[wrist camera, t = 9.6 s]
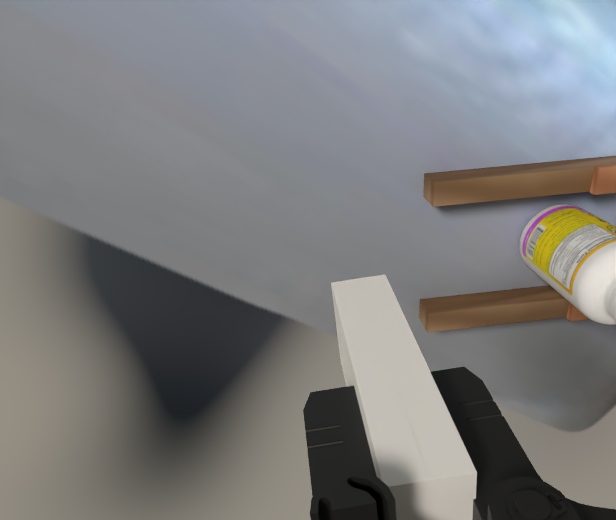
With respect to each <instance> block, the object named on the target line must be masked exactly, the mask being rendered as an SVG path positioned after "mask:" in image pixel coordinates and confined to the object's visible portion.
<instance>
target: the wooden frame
mask: <svg viewBox="0 0 616 520" xmlns="http://www.w3.org/2000/svg"><path fill="white" fill-rule="evenodd" d="M579 192H590V193H591V194H593V195H599V194H609V193H616V156H608V157H598V158H587V159H576V160H566V161H555V162H544V163H533V164H523V165H512V166H501V167H491V168H480V169H469V170H459V171H448V172H437V173H427V174H424V198H425V199H426V200H427V201H428V202H429V203H430V204H431V205H432V206H433V207H436V206H446V205H456V204H466V203H477V202H487V201H497V200H507V199H518V198H528V197H538V196H548V195H559V194H569V193H579ZM562 317H567V319H568V320H569V321H578V320H587V319H589V318H588V317H587V316H585V315H584V314H583V313H582V312H580V311H579V310H578V309H577V308H576V307H575V306H574V305H572V304H571V303H570V302H569V301H568V300H567V299H565V298H564V297H563V296H562V295H561V294H560V293H558V292H557V291H556V290H555V289H554V288H553V287H551V286H550V285H549V286H540V287H531V288H522V289H512V290H503V291H494V292H485V293H475V294H466V295H457V296H448V297H438V298H429V299H420V313H419V318H420V320H421V322H422V323H423V325H424V327H425V329H426V331H427V332H437V331H446V330H455V329H464V328H473V327H481V326H490V325H499V324H508V323H517V322H526V321H535V320H544V319H553V318H562Z"/></svg>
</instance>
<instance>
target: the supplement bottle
mask: <svg viewBox="0 0 616 520" xmlns="http://www.w3.org/2000/svg"><path fill="white" fill-rule="evenodd" d="M520 253H521V256H522V259H523V261H524V262H525V263H526V265H527V266H528V267H529V268H530V269H532V270H533V271H534V272H535V273H536V274H537V275H538V276H540V277H541V278H542V279H543V280H544V281H545V282H547V283H548V284H549V285H550V286H551V287H553V288H554V289H555V290H556V291H557V292H558V293H560V294H561V295H562V296H563V297H564V298H565V299H567V300H568V301H569V302H570V303H571V304H572V305H574V306H575V307H576V308H577V309H578V310H579V311H580V312H582V313H583V314H584V315H585V316H587V317H588V318H589V319H591V320H593V321H596V322H598V323H602V324H609V325H615V324H616V227H615V226H613V225H611V224H609V223H607V222H606V221H604V220H602V219H600V218H598V217H596V216H594V215H593V214H591V213H589V212H587V211H585V210H583V209H581V208H579V207H577V206H574V205H569V204H559V205H554V206H551V207H548V208H546V209H544V210H542V211H541V212H539V213H538V214H537V215H535V216H534V217H533V218H532V219H531V220H530V221H529V222H528V224H527V225H526V227H525V229H524V230H523V233H522V236H521V239H520Z"/></svg>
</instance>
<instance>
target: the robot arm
mask: <svg viewBox="0 0 616 520" xmlns="http://www.w3.org/2000/svg"><path fill="white" fill-rule="evenodd" d="M331 285H332V294H333V302H334V310H335V318H336V326H337V334H338V343H339V351H340V359H341V364H342V369H343V373H344V377H345V381H346V386H347V387H341V388H335V389H329V390H323V391H316V392H311V393H310V395H309V398H308V400H307V403H306V405H305V408H304V410H303V411H304V421H305V430H306V439H307V447H308V458H309V467H310V476H311V485H312V495H313V497H312V500H311V510H310V516H311V520H616V510H615V509H607V508H600V507H593V506H588V505H584V504H579V503H577V502H575V501H572V500H570V499H567V498H565V496H564V495H563V494H562V493H561V492H560V491H558V490H557V489H555V488H554V487H552V486H551V485H549V484H547V483H546V482H543V480H542V479H541V478H540V476H539V475H538V474H537V472H536V471H535V469H534V467H533V466H532V464H531V462H530V461H529V459H528V457H527V455H526V454H525V452H524V450H523V449H522V447H521V445H520V444H519V442H518V440H517V439H516V437H515V435H514V433H513V432H512V430H511V429H510V427H509V425H508V423H507V422H506V420H505V418H504V417H502V415H501V411H500V410H499V408H498V406H497V405H496V403H495V402H493V398H492V396H491V395H490V393H489V391H488V390H487V388H486V386H485V384H484V383H483V381H482V380H481V379H480V378H478V377H477V376H476V375H474V374H473V373H472V372H470V371H469V370H468V369H467V368H465V367H459V368H452V369H446V370H440V371H433V372H430V370H429V368H428V366H427V364H426V362H425V359H424V357H423V355H422V353H421V351H420V349H419V347H418V344H417V342H416V340H415V338H414V336H413V334H412V331H411V329H410V327H409V325H408V323H407V321H406V319H405V316H404V314H403V312H402V310H401V308H400V306H399V303H398V301H397V299H396V297H395V295H394V293H393V291H392V288H391V286H390V284H389V282H388V280H387V278H386V275H378V276H372V277H365V278H359V279H352V280H346V281H339V282H333V283H331Z"/></svg>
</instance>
